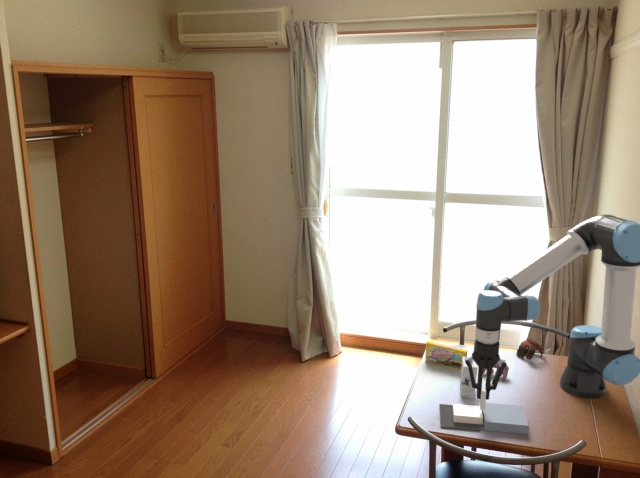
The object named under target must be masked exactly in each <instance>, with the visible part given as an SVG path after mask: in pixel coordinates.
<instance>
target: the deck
mask: <svg viewBox="0 0 640 478" xmlns="http://www.w3.org/2000/svg"><path fill="white" fill-rule="evenodd" d="M482 414H483V430H484V431H488V432H500V433H501V432H502V433H511V434H520V435H529V423H528V419H527V417H526V413H525V410H524V408H523V405H517V404H516V405H515V404H506V403H495V402H494V403H493V402H485V410H482Z"/></svg>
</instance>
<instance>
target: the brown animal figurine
mask: <svg viewBox="0 0 640 478" xmlns="http://www.w3.org/2000/svg"><path fill="white" fill-rule="evenodd" d="M543 349H544V347H543V346H542V345H541V344H539V343H537V342H536V341H534V340H533V339H531V338H528V337H527V338H526V339H525V340H523V341H521V343H519V345H518V348H517V350H516V353H515V355H516V356H517V357H519V358H520V359H521V360H524V359H525V358H526V359H527V360H532V358H533V356H534V355H535V353H536V350H537V351H538V352H539V353H540V356H539V358H541V359H542V357H543V353H544V351H543Z"/></svg>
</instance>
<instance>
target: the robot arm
mask: <svg viewBox="0 0 640 478" xmlns="http://www.w3.org/2000/svg"><path fill="white" fill-rule="evenodd" d="M594 250H600V251H601V256H600V257H601V259H600V262H601V263H602V264H603V265H604V266H605V275H604V277H605V278H604V290H603V299H602V300H603V301H602V302H603V303H602V304H603V305H602V316H601V327H600V326H596V325H585V324H584V325H575V326H574V327H573V328H572V329H571V330H570V335H569V347H568V356H567V365H566V367H565V368H564V370H563V372H562V374H561V376H560V380H559V386H560V387H561V389H562V390H564V391H565V392H566V393H569V394H571V395H574V396H576V397H579V398H585V399H599V398H602V397H604V396H605V395H606V393H607V383H606V381H607V382H609V383H611V384H612V385H615V386H624V385H628V384H630V383H632V382H633V381H634V380H635V379H637V378H638V377H639V375H640V358H639V357H638V356H637V355H635V349H636V344H635V341H634V340H633V339H632V338H631V336H632V334H631V332H632V324H633V322H632V321H633V313H634V300H635V288H636V277H637V269H638V268H640V223H638V222H636V221H633V220H628V219H625V218H621V217H617V216H615V215H612V214H599V215H595V216H593V217H590V218H587V219H585V220H584V221H582V222H580V223H578V224H576V225H575V226H573V227H572V228H570V229H569V230H567V232H566V235H565V236H564V237H563V238H561V239H560V240H558V241H556V242H555V243H554V244H553V245H551V246H549V247H548V248H546V249H545V250H544V251H542V252H541V253H539V254H537V256H535V257H533V258H532V259H531V260H529V261H528V262H526V263H524V264H523V265H522V266H520V267H519V268H517V269H516V270H514V271H513V272H511V273H510V274H509V275H507V276H506V277H504V278H503V279H501V280H496V279H495V280H494V279H493V280H489V282H487V283H486V284H485V286H484V288H483V290H481V291H480V292H479V293H478V294H477V301H476V316H475V317H476V318H475V329H474V344H473V351H472V353H471V356H467V357H465V363H466V365H467V366H468V369H469V374H470V379H471V384H472V388H475V390H476V398H477V400H479V403H478V406H479V407H480V410H485V403H486V400H490V392H491V391H492V390H493V391H494V390H497V388H498V384H499V382H500V379H501V377H502V376H501V374H502V371H503V369H504V368H505V367H506V366H508V364H507V362H506V361H507V360H505V359H502V358H501V356H500V354H499V353H500V351H499V350H500V340H501V329H502V328H501V327H502V323H507V322H523V321H526V322H528V321H532V320H536V319H538V317H539V316H540V313H541V305H540V304H541V303H540V301H539V300H538V298H537V297H536V296H534V295H523V294H524V293H527V291H530V289H532V288H533V287H535V286H536V285H537V284H540V282H542V281H544V280H546V278H549V276H551V275H552V274H554V273H556V272H557V271H559V270H560V269H561V268H563V267H564V266H566V265H567V264H569V263H570V262H572V261H573V260H575V259H576V258H578V257H579V256H580V255H588V254H590V252H592V251H594ZM468 357H469V358H468ZM473 360H474V361H475V363H476V364H477V378H476V383H475V379H474V374H473V369H472V364H473ZM497 362H498V367H497V368H496V370H495V372H494V375H493V378H492V374H491V372H492V367H494V365H495V364H496V363H497ZM483 368H487V370H486V371H485V373H486V374H485V387H483V375H484V374H483Z"/></svg>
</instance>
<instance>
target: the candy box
mask: <svg viewBox="0 0 640 478" xmlns="http://www.w3.org/2000/svg"><path fill="white" fill-rule="evenodd" d="M462 357H468V350H467V349H462V348H458V347H455V346H454V347H453V346H451V345H450V346H449V345H445V344H442V343H438V342H433V341H428V340H427V341H426V342H425V359H424V360H425V362H427V363H431V364H435V365H439V366H443V367H447V368H451V369H455V370H458V371H461V368H462Z"/></svg>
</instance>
